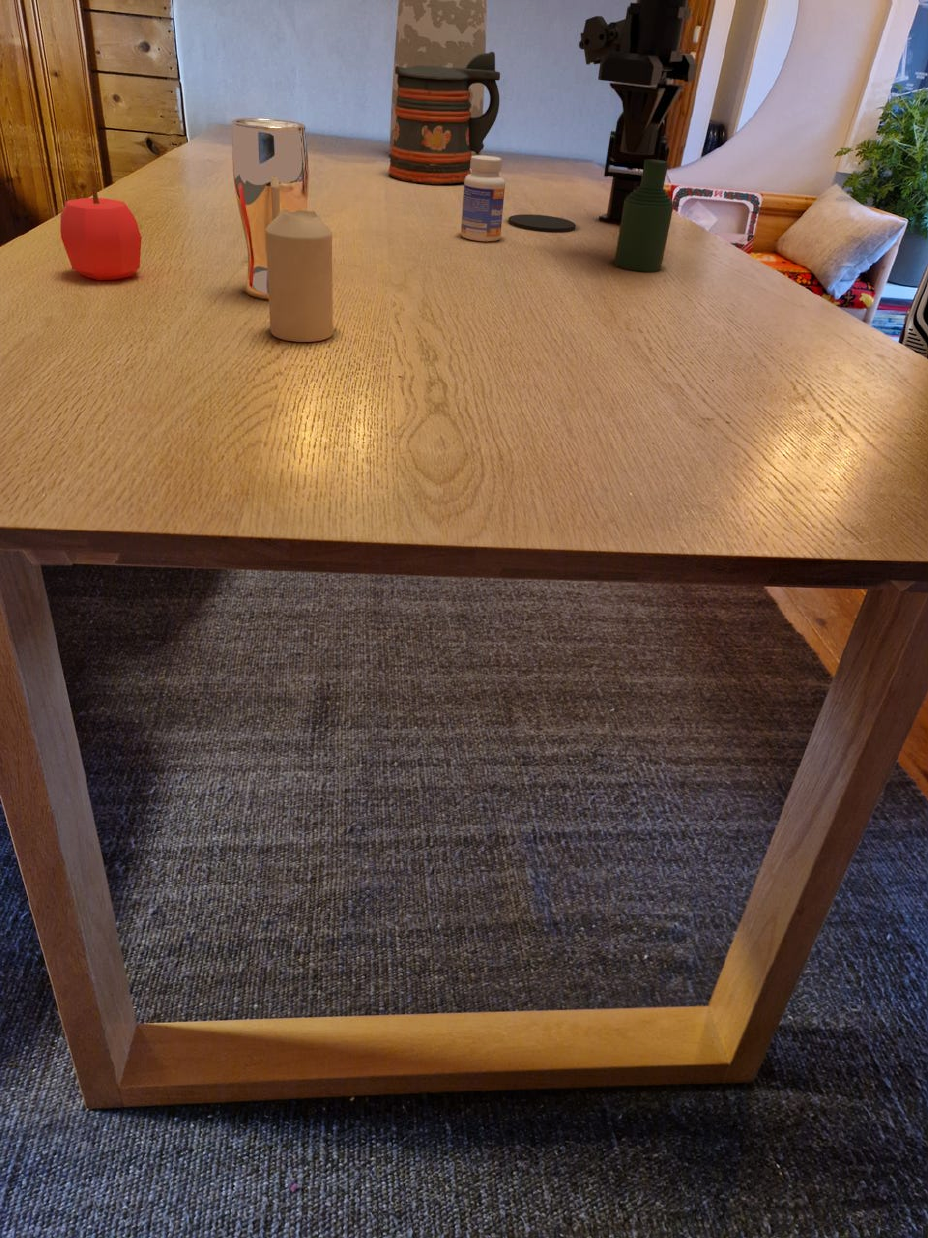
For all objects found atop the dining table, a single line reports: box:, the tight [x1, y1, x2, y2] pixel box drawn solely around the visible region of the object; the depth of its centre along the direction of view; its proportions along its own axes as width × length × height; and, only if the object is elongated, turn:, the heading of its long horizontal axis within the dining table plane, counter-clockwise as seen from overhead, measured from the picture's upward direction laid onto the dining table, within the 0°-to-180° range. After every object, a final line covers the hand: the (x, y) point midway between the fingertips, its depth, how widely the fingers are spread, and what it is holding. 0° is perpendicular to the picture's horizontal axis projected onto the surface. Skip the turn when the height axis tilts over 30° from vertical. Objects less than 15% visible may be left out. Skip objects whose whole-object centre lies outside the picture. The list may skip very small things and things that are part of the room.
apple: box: [59, 187, 143, 281], centre depth 86 cm, size 8×8×8 cm
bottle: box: [613, 159, 674, 273], centre depth 107 cm, size 6×6×12 cm
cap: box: [620, 121, 659, 155], centre depth 105 cm, size 4×4×3 cm
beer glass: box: [231, 117, 310, 301], centre depth 83 cm, size 7×7×15 cm
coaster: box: [507, 213, 577, 233], centre depth 128 cm, size 10×10×1 cm
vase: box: [389, 0, 488, 162], centre depth 168 cm, size 20×19×38 cm
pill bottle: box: [460, 154, 506, 242], centre depth 114 cm, size 5×5×10 cm
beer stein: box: [388, 51, 501, 186], centre depth 151 cm, size 19×15×20 cm
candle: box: [265, 209, 334, 343], centre depth 74 cm, size 6×6×10 cm
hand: (636, 150), depth 106 cm, fingers closed on cap, 4 cm apart
